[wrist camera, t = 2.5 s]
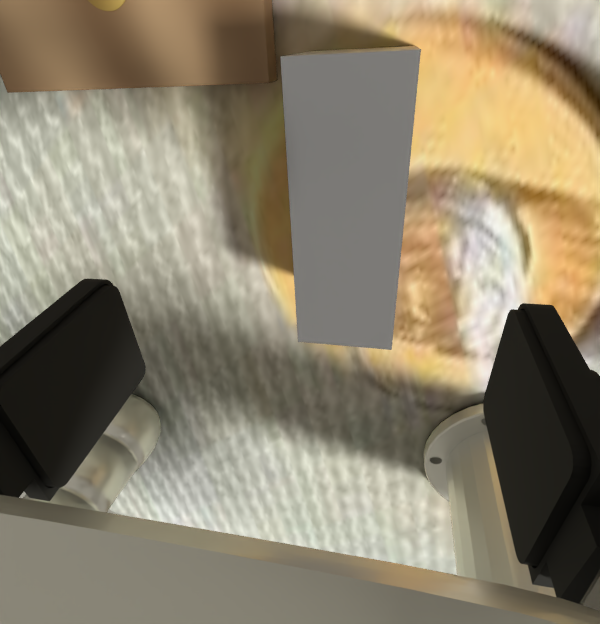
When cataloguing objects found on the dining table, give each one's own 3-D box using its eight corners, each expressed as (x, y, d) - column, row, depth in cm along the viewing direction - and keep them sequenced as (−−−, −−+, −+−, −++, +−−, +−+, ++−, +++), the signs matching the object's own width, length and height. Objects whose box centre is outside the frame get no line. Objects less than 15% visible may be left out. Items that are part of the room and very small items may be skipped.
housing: (415, 45, 18) (420, 49, 13) (393, 287, 25) (391, 349, 20) (311, 50, 19) (280, 56, 14) (317, 283, 25) (298, 341, 21)
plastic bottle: (85, 391, 36) (-168, 678, 20) (140, 374, 34) (-103, 690, 17) (131, 438, 39) (-60, 725, 23) (184, 426, 36) (11, 742, 20)
